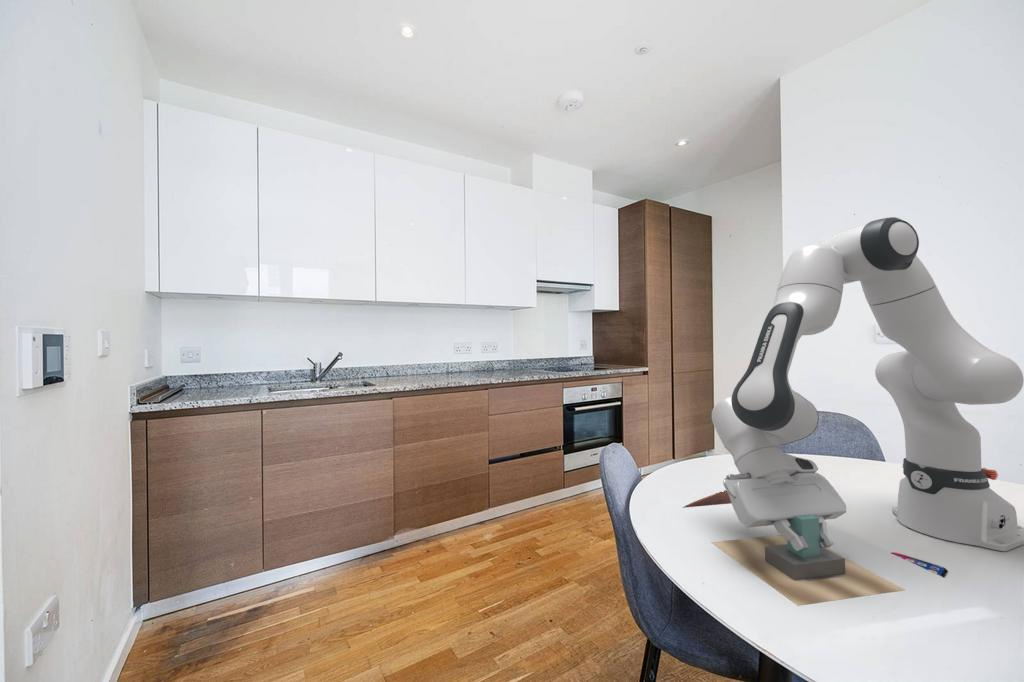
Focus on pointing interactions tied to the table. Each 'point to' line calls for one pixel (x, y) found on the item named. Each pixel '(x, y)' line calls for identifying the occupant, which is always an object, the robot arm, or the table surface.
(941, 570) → the blue red thin stick
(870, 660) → the table surface
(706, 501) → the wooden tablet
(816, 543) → the sanding block
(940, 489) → the robot arm
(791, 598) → the board
